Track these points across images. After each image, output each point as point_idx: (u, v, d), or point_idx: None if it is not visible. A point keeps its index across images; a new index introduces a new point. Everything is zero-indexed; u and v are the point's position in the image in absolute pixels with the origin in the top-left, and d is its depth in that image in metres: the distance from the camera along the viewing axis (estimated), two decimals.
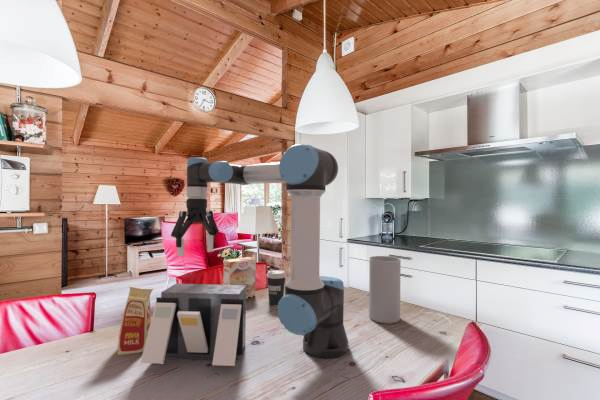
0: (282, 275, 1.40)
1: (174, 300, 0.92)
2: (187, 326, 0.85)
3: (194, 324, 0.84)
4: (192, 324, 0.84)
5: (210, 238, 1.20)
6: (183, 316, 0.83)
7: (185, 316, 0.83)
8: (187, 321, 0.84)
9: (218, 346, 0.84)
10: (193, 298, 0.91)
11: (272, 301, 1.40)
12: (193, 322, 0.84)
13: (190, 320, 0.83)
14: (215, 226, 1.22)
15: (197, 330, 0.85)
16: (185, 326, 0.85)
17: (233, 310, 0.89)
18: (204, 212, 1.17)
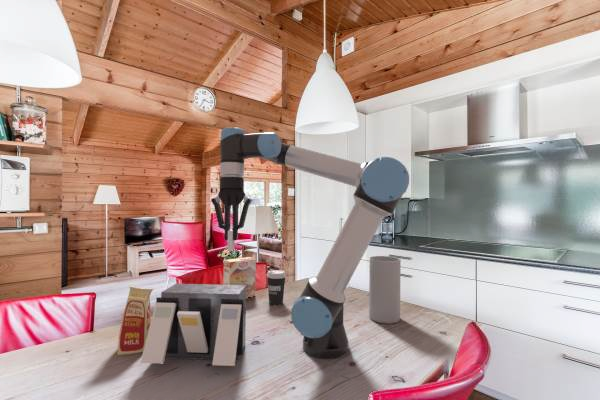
0: (282, 275, 1.40)
1: (174, 300, 0.92)
2: (187, 326, 0.85)
3: (194, 324, 0.84)
4: (192, 324, 0.84)
5: None
6: (183, 316, 0.83)
7: (185, 316, 0.83)
8: (187, 321, 0.84)
9: (218, 346, 0.84)
10: (193, 298, 0.91)
11: (272, 301, 1.40)
12: (193, 322, 0.84)
13: (190, 320, 0.83)
14: (241, 219, 0.95)
15: (197, 330, 0.85)
16: (185, 326, 0.85)
17: (233, 310, 0.89)
18: (240, 193, 0.95)
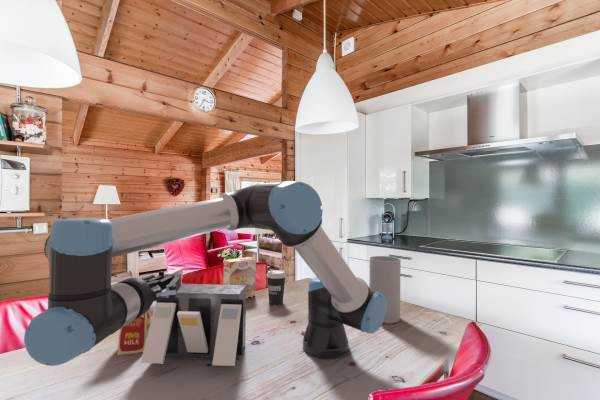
0: (282, 275, 1.40)
1: (174, 300, 0.92)
2: (187, 326, 0.85)
3: (194, 324, 0.84)
4: (192, 324, 0.84)
5: None
6: (183, 316, 0.83)
7: (185, 316, 0.83)
8: (187, 321, 0.84)
9: (218, 346, 0.84)
10: (193, 298, 0.91)
11: (272, 301, 1.40)
12: (193, 322, 0.84)
13: (190, 320, 0.83)
14: (144, 278, 0.68)
15: (197, 330, 0.85)
16: (185, 326, 0.85)
17: (233, 310, 0.89)
18: None
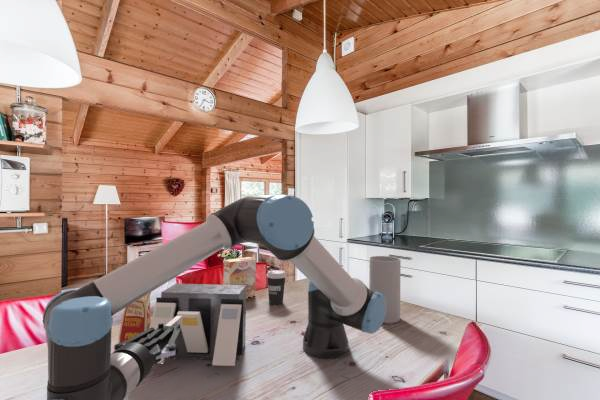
0: (282, 275, 1.40)
1: (174, 300, 0.92)
2: (187, 326, 0.85)
3: (194, 324, 0.84)
4: (192, 324, 0.84)
5: None
6: (183, 316, 0.83)
7: (185, 316, 0.83)
8: (187, 321, 0.84)
9: (218, 346, 0.84)
10: (193, 298, 0.91)
11: (272, 301, 1.40)
12: (193, 322, 0.84)
13: (190, 320, 0.83)
14: (143, 332, 0.67)
15: (197, 330, 0.85)
16: (185, 326, 0.85)
17: (233, 310, 0.89)
18: None
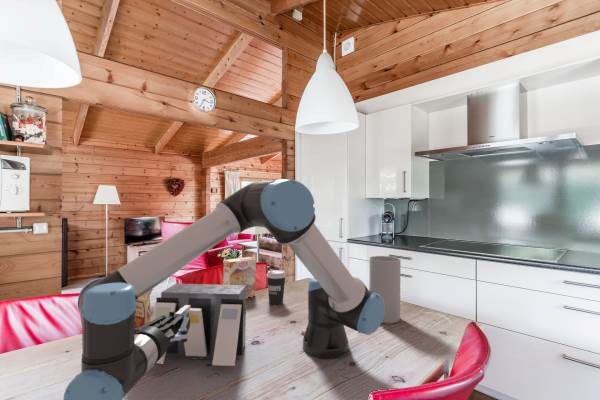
0: (282, 275, 1.40)
1: (174, 300, 0.92)
2: None
3: (195, 322, 0.85)
4: (193, 322, 0.85)
5: None
6: None
7: None
8: None
9: (218, 346, 0.84)
10: (193, 298, 0.91)
11: (272, 301, 1.40)
12: (194, 319, 0.84)
13: (191, 317, 0.84)
14: (156, 319, 0.74)
15: (197, 329, 0.86)
16: None
17: (233, 310, 0.89)
18: None
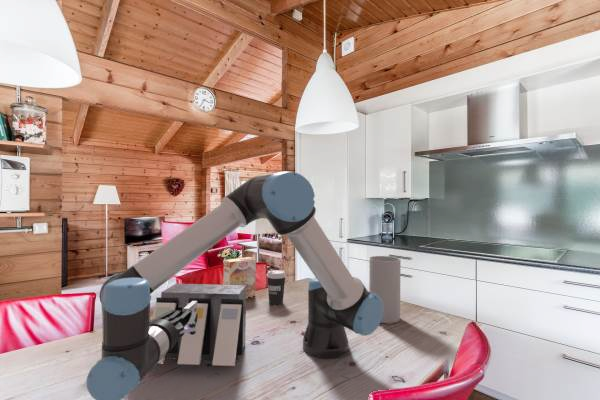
0: (282, 275, 1.40)
1: (174, 300, 0.92)
2: None
3: (199, 316, 0.88)
4: None
5: None
6: None
7: None
8: None
9: (218, 346, 0.84)
10: (193, 298, 0.91)
11: (272, 301, 1.40)
12: (199, 313, 0.88)
13: (197, 310, 0.88)
14: (166, 313, 0.78)
15: (199, 326, 0.87)
16: None
17: (233, 310, 0.89)
18: None
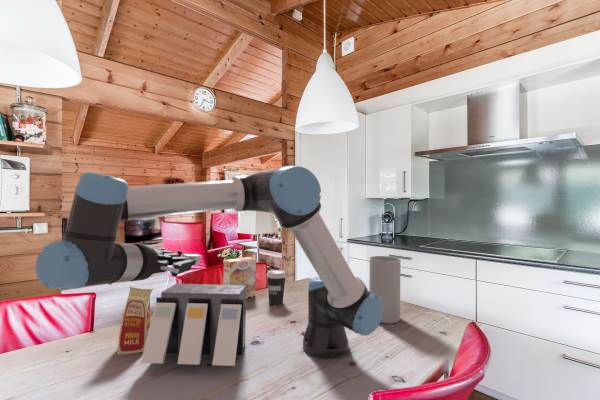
0: (282, 275, 1.40)
1: (174, 300, 0.92)
2: (191, 320, 0.87)
3: (199, 316, 0.88)
4: (197, 316, 0.88)
5: None
6: (192, 306, 0.89)
7: (194, 306, 0.89)
8: (193, 313, 0.88)
9: (218, 346, 0.84)
10: (193, 298, 0.91)
11: (272, 301, 1.40)
12: (199, 313, 0.88)
13: (197, 310, 0.88)
14: (163, 251, 0.75)
15: (199, 326, 0.87)
16: (189, 320, 0.87)
17: (233, 310, 0.89)
18: None
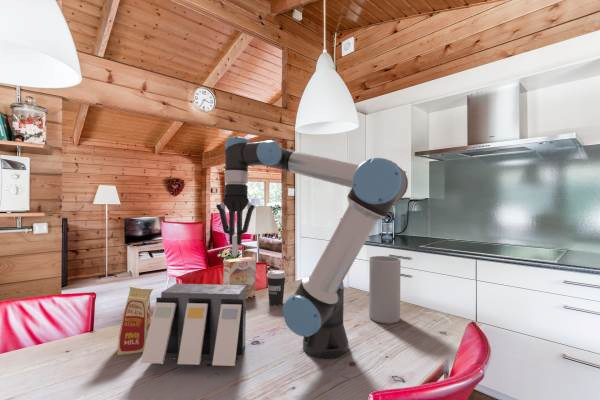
0: (282, 275, 1.40)
1: (174, 300, 0.92)
2: (191, 320, 0.87)
3: (199, 316, 0.88)
4: (197, 316, 0.88)
5: None
6: (192, 306, 0.89)
7: (194, 306, 0.89)
8: (193, 313, 0.88)
9: (218, 346, 0.84)
10: (193, 298, 0.91)
11: (272, 301, 1.40)
12: (199, 313, 0.88)
13: (197, 310, 0.88)
14: (245, 224, 0.99)
15: (199, 326, 0.87)
16: (189, 320, 0.87)
17: (233, 310, 0.89)
18: (244, 200, 1.00)
